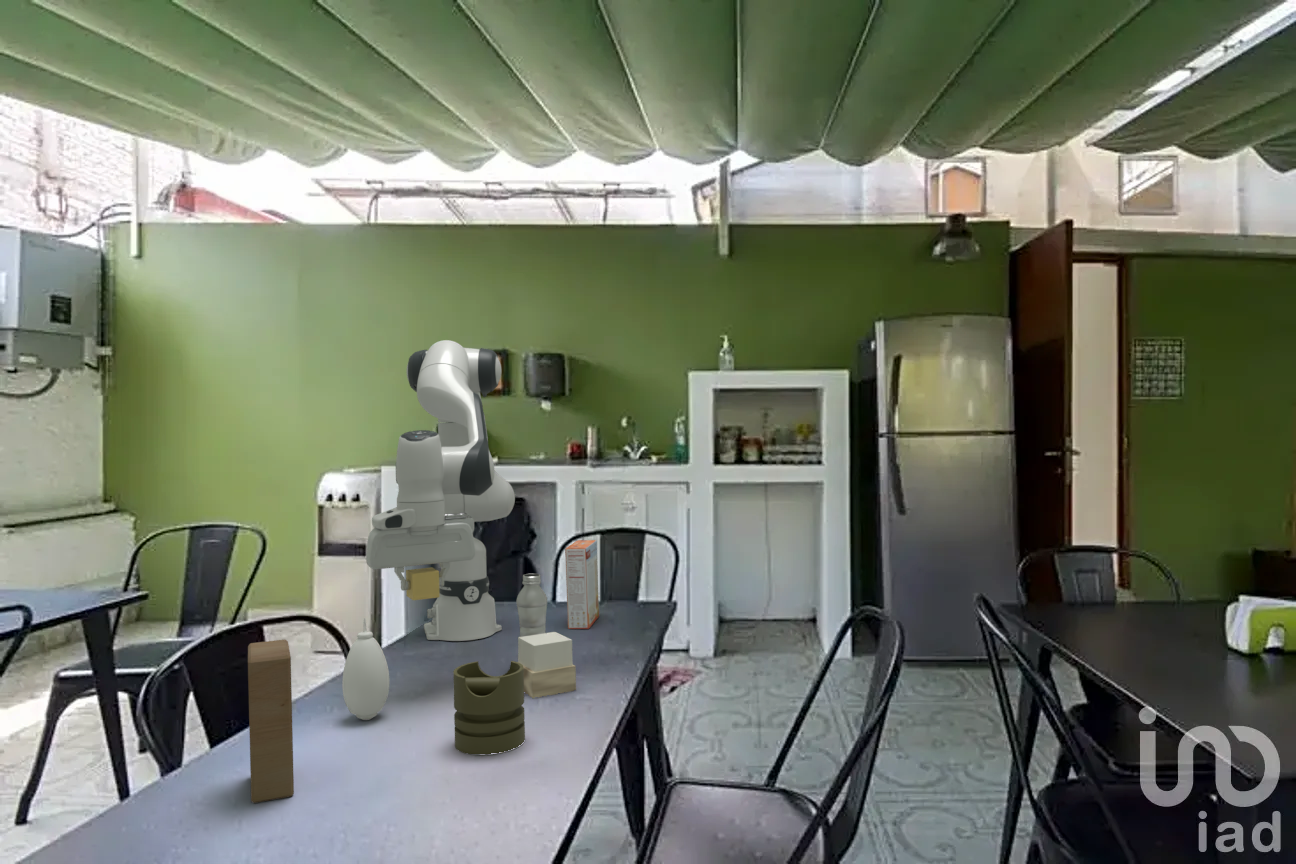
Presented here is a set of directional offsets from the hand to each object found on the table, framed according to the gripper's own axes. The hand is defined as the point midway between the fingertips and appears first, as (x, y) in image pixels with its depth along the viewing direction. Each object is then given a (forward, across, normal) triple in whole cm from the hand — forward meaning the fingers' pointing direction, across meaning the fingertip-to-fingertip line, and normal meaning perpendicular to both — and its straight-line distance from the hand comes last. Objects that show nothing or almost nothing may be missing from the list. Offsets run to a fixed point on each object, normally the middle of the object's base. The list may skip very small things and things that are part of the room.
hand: (422, 587), depth 166 cm
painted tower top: (+16, -22, +7) cm, 28 cm away
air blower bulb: (+21, +12, +6) cm, 25 cm away
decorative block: (+21, +30, +29) cm, 47 cm away
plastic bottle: (+21, -25, -7) cm, 34 cm away
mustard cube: (+2, 0, 0) cm, 2 cm away
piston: (+21, -3, +29) cm, 36 cm away
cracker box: (+22, -52, -40) cm, 69 cm away
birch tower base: (+21, -22, +7) cm, 31 cm away
